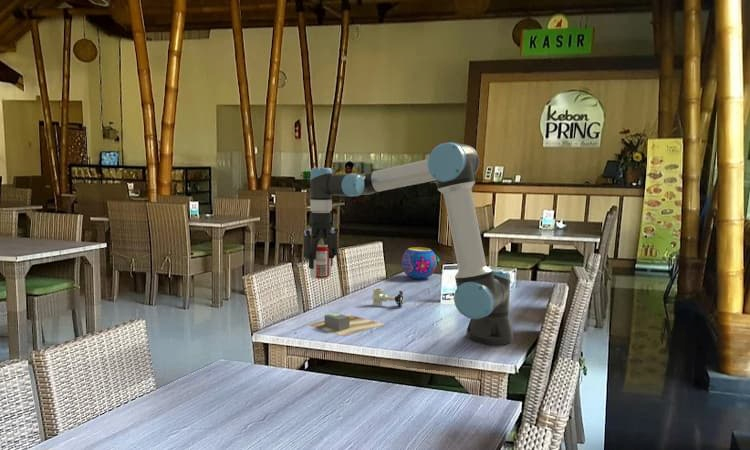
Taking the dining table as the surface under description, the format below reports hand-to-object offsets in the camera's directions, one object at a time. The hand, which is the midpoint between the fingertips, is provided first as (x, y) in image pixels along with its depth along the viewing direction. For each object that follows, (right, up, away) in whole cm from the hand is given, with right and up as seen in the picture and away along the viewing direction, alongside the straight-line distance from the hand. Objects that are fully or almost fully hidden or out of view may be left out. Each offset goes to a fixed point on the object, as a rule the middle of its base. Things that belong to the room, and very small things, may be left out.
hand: (320, 276), depth 203 cm
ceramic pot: (+41, -9, +85) cm, 95 cm away
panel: (+9, -17, -5) cm, 20 cm away
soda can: (0, -1, 0) cm, 1 cm away
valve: (+24, -15, +27) cm, 39 cm away
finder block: (+6, -16, -9) cm, 20 cm away
